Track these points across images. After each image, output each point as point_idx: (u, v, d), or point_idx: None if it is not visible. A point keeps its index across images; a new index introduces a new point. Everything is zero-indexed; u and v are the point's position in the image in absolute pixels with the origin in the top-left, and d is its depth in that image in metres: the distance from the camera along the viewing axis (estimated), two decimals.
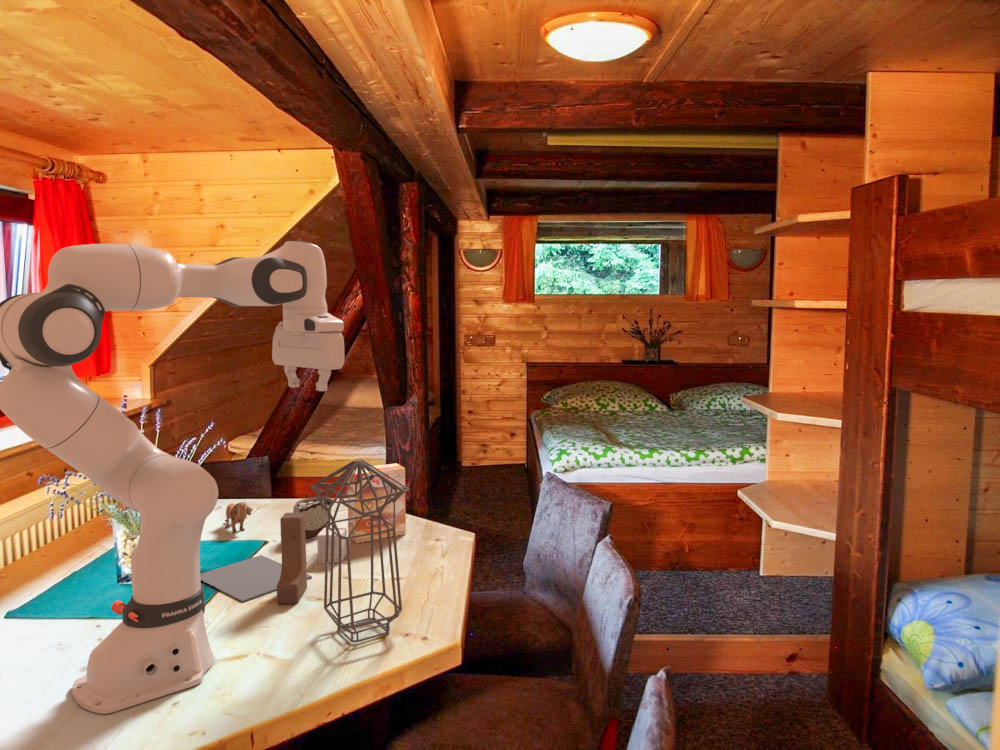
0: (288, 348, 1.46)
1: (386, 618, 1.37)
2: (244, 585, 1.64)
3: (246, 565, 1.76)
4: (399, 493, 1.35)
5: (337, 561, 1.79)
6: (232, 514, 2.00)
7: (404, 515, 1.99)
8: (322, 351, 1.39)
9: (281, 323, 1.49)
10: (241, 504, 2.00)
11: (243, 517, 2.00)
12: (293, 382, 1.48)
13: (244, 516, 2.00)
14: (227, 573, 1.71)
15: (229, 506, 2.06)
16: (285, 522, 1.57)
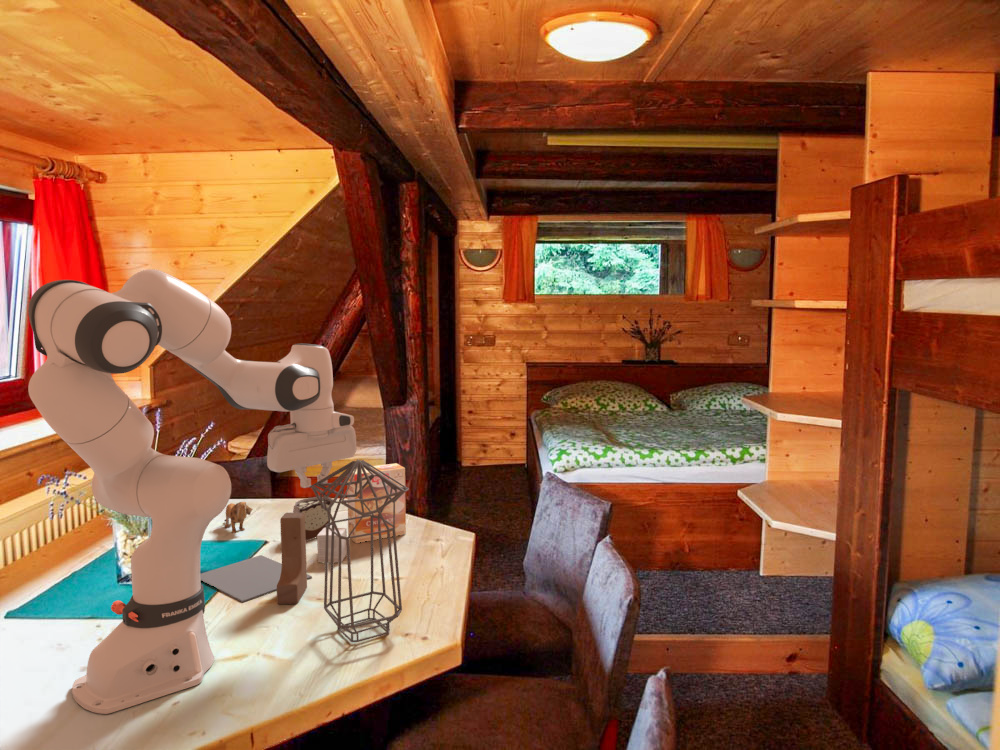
0: (303, 450, 1.45)
1: (386, 618, 1.37)
2: (244, 585, 1.64)
3: (246, 565, 1.76)
4: (399, 493, 1.35)
5: (337, 561, 1.79)
6: (232, 514, 2.01)
7: (404, 515, 1.99)
8: (348, 442, 1.54)
9: (281, 428, 1.42)
10: (241, 504, 2.00)
11: (243, 517, 2.00)
12: None
13: (244, 516, 2.00)
14: (227, 573, 1.71)
15: (229, 506, 2.06)
16: (285, 522, 1.57)
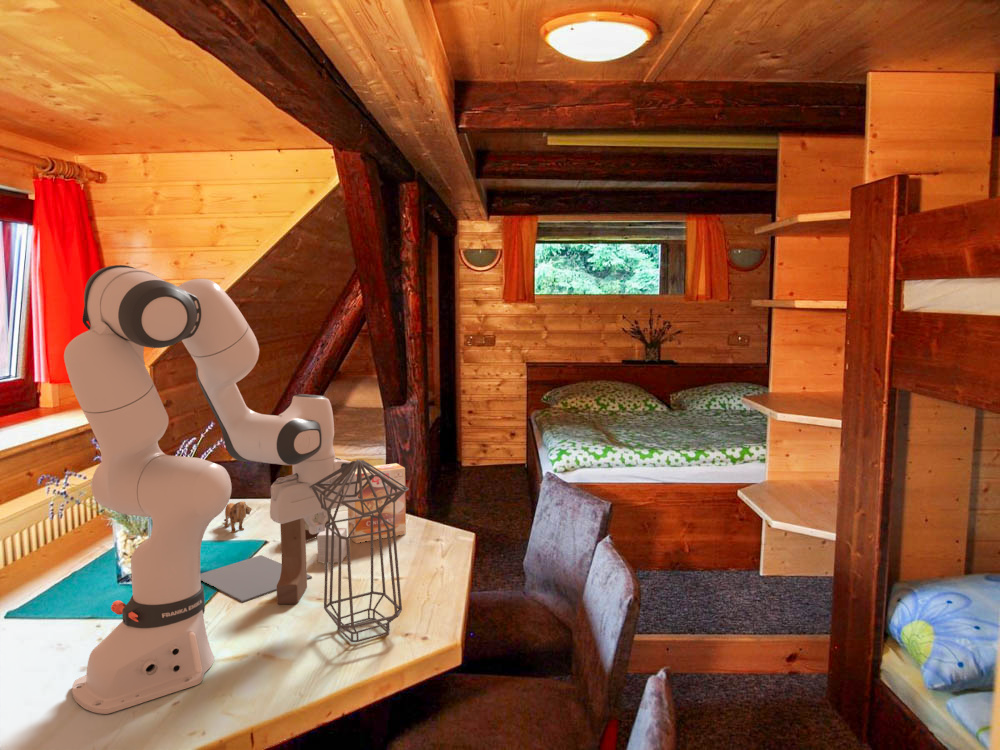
0: (305, 500, 1.46)
1: (386, 618, 1.37)
2: (244, 585, 1.64)
3: (246, 565, 1.76)
4: (399, 493, 1.35)
5: (337, 561, 1.79)
6: (231, 513, 2.01)
7: (404, 515, 1.99)
8: (350, 488, 1.55)
9: (283, 479, 1.43)
10: (240, 503, 2.01)
11: (242, 516, 2.01)
12: None
13: (243, 515, 2.01)
14: (227, 573, 1.71)
15: (228, 505, 2.07)
16: None
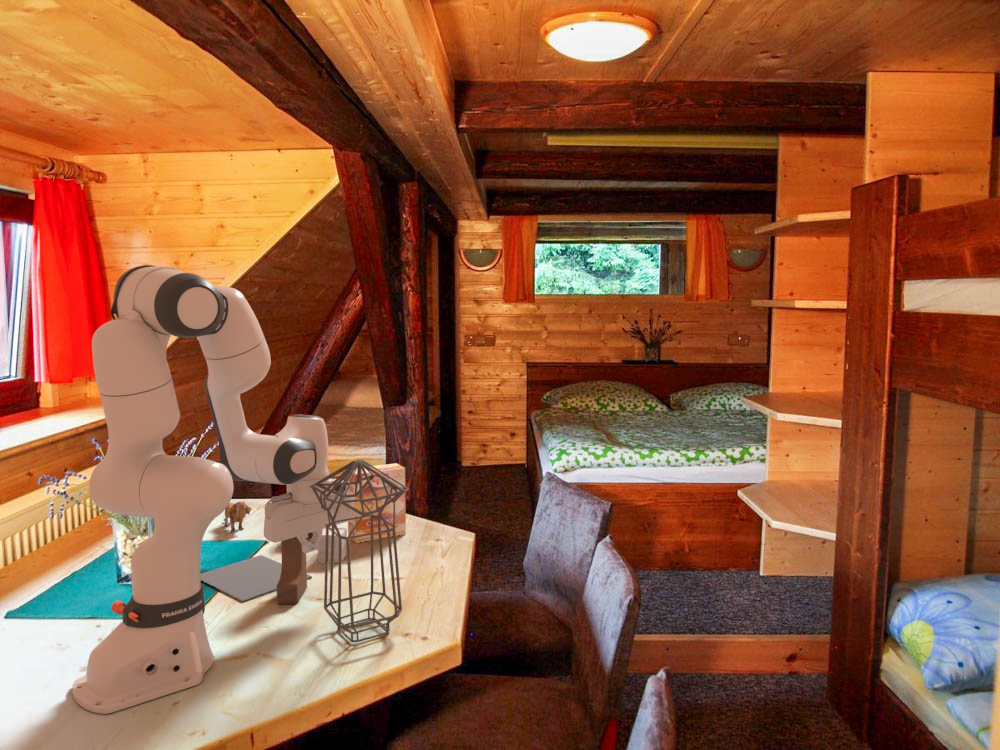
0: (299, 519, 1.48)
1: (386, 618, 1.37)
2: (244, 585, 1.64)
3: (246, 565, 1.76)
4: (399, 493, 1.35)
5: (337, 561, 1.79)
6: (231, 513, 2.01)
7: (404, 515, 1.99)
8: (344, 507, 1.57)
9: (277, 498, 1.45)
10: (240, 503, 2.01)
11: (242, 516, 2.01)
12: None
13: (243, 515, 2.01)
14: (227, 573, 1.71)
15: (228, 505, 2.07)
16: None
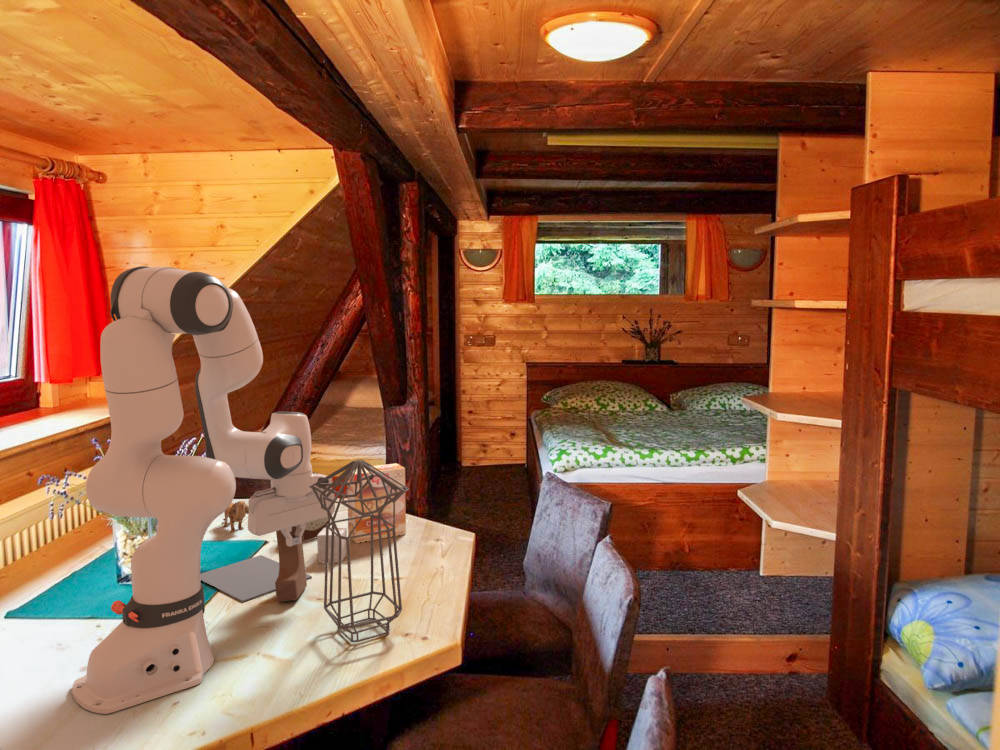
0: (282, 513, 1.52)
1: (386, 618, 1.37)
2: (244, 585, 1.64)
3: (246, 565, 1.76)
4: (399, 493, 1.35)
5: (337, 561, 1.79)
6: (231, 513, 2.01)
7: (404, 515, 1.99)
8: (327, 501, 1.61)
9: (261, 493, 1.49)
10: (240, 503, 2.01)
11: (242, 516, 2.01)
12: None
13: (243, 515, 2.01)
14: (227, 573, 1.71)
15: None
16: None
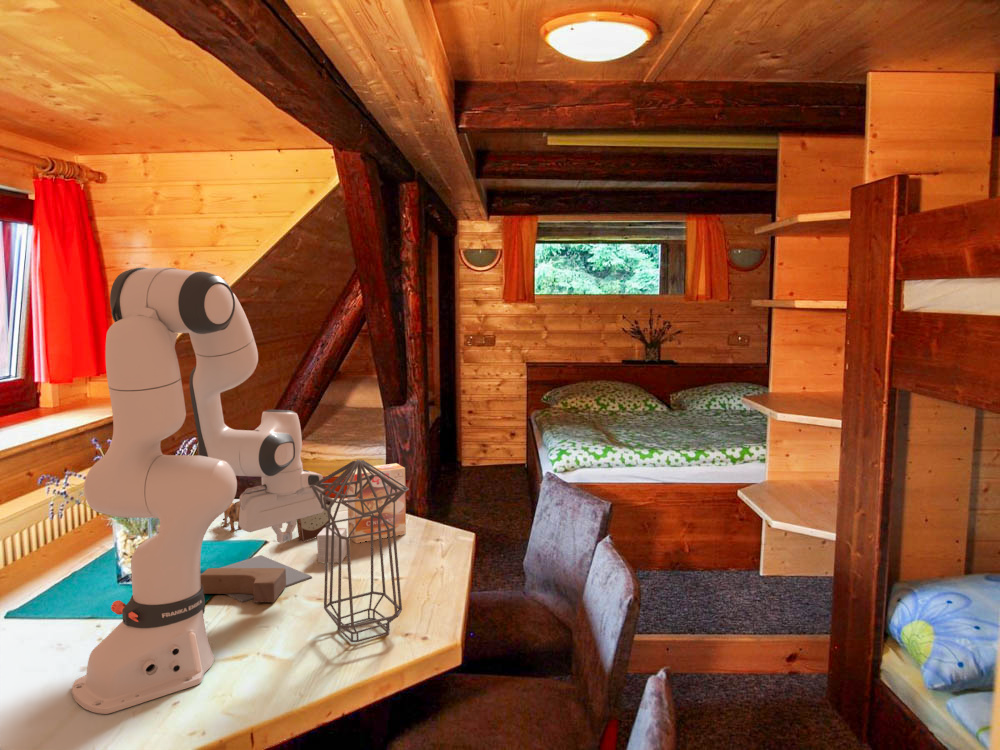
0: (273, 509, 1.54)
1: (386, 618, 1.37)
2: None
3: (246, 565, 1.76)
4: (399, 493, 1.35)
5: (337, 561, 1.79)
6: (231, 513, 2.02)
7: (404, 515, 1.99)
8: None
9: (252, 490, 1.51)
10: None
11: None
12: None
13: None
14: None
15: None
16: (204, 589, 1.59)
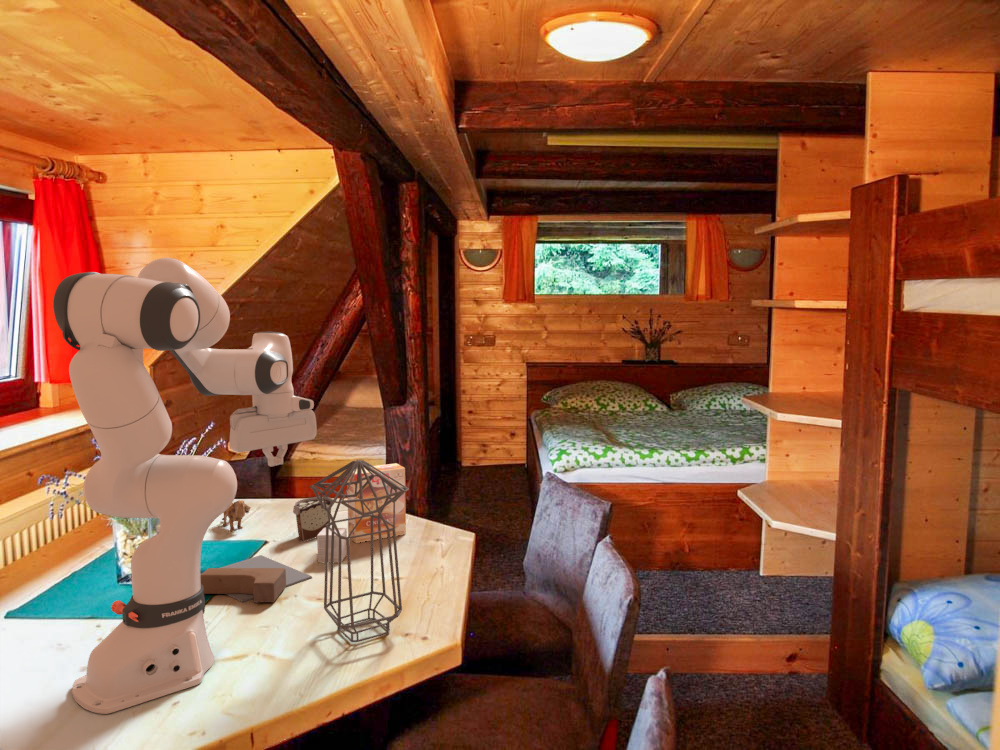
0: (264, 431, 1.54)
1: (386, 618, 1.37)
2: None
3: (246, 565, 1.76)
4: (399, 493, 1.35)
5: (337, 561, 1.79)
6: (230, 512, 2.02)
7: (404, 515, 1.99)
8: (308, 425, 1.63)
9: (242, 410, 1.51)
10: (239, 502, 2.02)
11: (241, 515, 2.02)
12: None
13: (242, 514, 2.02)
14: None
15: None
16: (204, 589, 1.59)
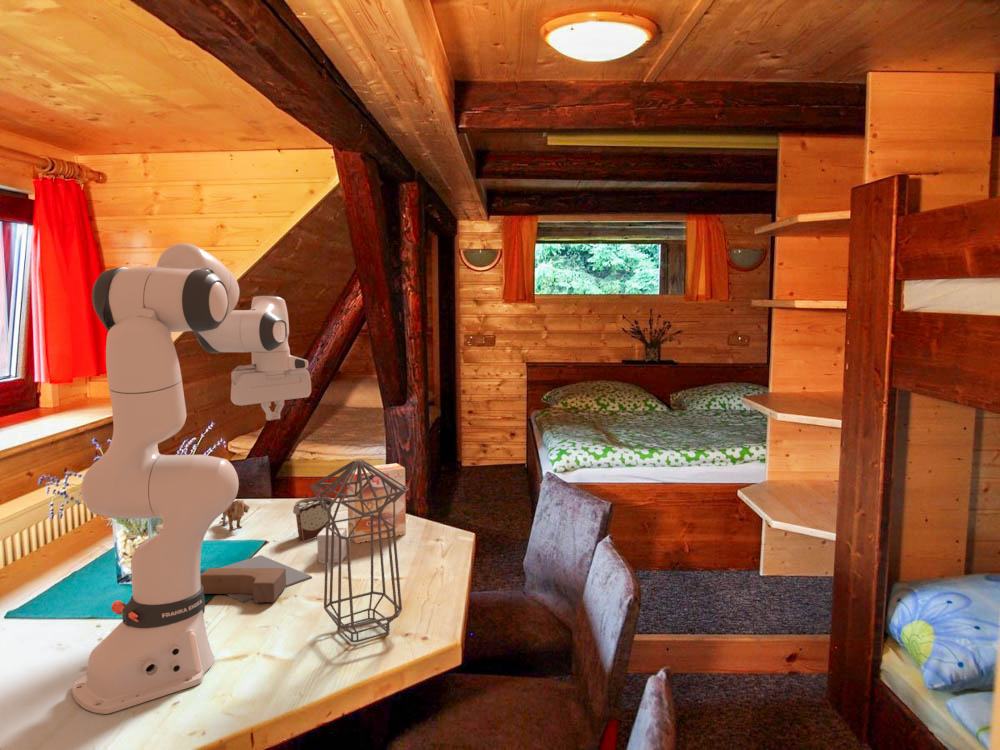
0: (262, 387, 1.68)
1: (386, 618, 1.37)
2: None
3: (246, 565, 1.76)
4: (399, 493, 1.35)
5: (337, 561, 1.79)
6: (229, 512, 2.02)
7: (404, 515, 1.99)
8: (304, 383, 1.76)
9: (242, 367, 1.65)
10: (238, 502, 2.02)
11: (240, 515, 2.02)
12: None
13: (241, 514, 2.02)
14: None
15: None
16: (204, 589, 1.59)
